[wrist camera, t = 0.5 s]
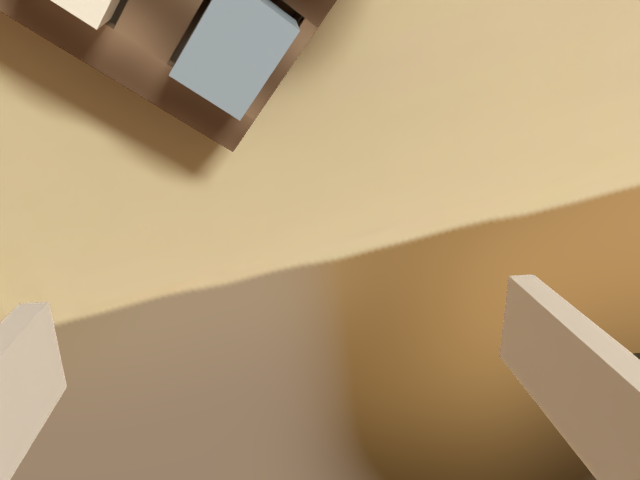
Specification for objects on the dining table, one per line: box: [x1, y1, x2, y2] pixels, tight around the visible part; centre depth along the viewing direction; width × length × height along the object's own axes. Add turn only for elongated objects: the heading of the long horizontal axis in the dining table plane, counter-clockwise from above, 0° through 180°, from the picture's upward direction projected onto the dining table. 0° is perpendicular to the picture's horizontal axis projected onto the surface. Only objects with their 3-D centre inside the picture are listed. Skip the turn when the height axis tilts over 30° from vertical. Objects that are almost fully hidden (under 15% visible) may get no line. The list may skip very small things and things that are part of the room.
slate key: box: [169, 0, 300, 121], centre depth 29 cm, size 6×4×3 cm
